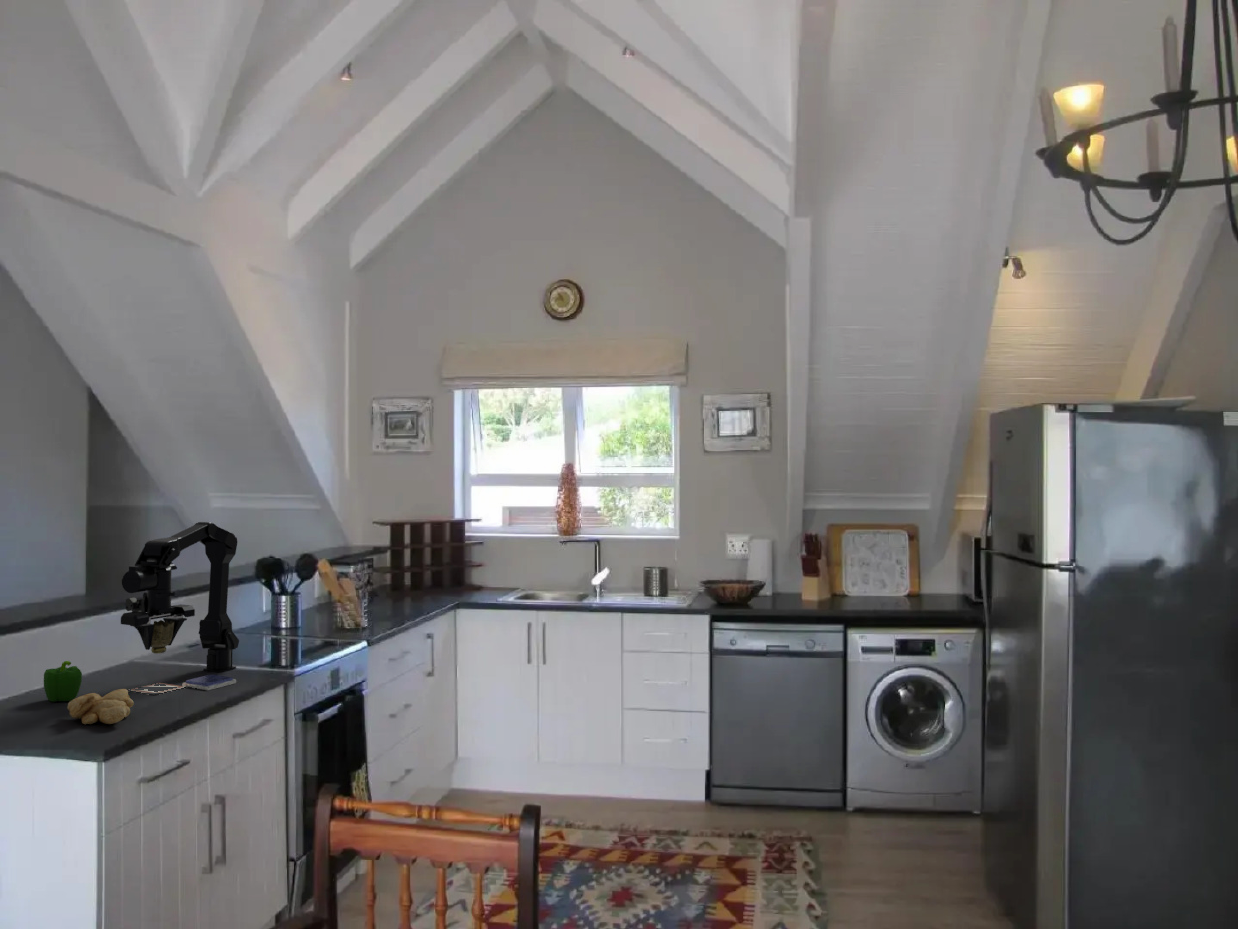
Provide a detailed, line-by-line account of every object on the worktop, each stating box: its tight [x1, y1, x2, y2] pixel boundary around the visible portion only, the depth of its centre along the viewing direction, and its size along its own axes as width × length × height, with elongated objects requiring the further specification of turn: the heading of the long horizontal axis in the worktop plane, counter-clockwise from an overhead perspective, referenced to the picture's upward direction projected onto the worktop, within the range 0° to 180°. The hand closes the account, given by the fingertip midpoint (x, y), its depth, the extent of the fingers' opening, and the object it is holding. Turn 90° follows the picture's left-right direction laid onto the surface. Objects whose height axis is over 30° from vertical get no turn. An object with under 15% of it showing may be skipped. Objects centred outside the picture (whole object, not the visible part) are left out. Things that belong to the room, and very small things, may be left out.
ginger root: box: [66, 688, 134, 725], centre depth 221 cm, size 16×16×8 cm
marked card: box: [131, 682, 185, 694], centre depth 251 cm, size 10×10×1 cm
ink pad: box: [182, 673, 237, 691], centre depth 257 cm, size 10×9×2 cm
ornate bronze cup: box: [150, 619, 174, 654], centre depth 251 cm, size 8×7×8 cm
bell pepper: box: [43, 660, 83, 703], centre depth 238 cm, size 8×8×10 cm
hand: (158, 647), depth 251 cm, fingers closed on ornate bronze cup, 6 cm apart
